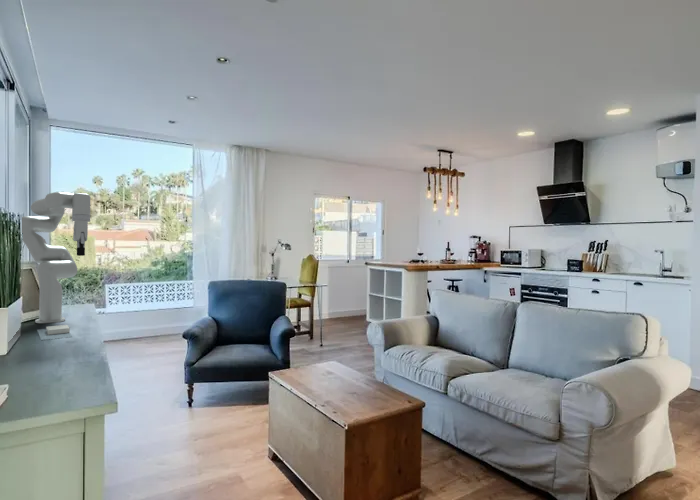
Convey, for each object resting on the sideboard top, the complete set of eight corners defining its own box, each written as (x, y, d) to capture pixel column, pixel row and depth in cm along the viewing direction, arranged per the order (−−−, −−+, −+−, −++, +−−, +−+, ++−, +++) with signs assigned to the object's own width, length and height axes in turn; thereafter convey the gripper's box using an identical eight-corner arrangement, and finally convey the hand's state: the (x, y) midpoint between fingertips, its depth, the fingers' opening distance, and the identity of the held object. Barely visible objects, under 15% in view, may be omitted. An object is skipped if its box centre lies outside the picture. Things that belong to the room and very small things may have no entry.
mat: (36, 330, 192) (36, 329, 192) (65, 327, 199) (65, 326, 199) (41, 340, 174) (41, 339, 174) (72, 337, 181) (72, 336, 181)
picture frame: (46, 326, 190) (47, 330, 183) (67, 324, 195) (69, 328, 188) (46, 331, 190) (47, 334, 183) (67, 329, 195) (69, 332, 188)
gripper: (70, 218, 206) (69, 255, 207) (74, 217, 195) (73, 256, 195) (87, 219, 211) (87, 255, 212) (92, 218, 200) (92, 256, 200)
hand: (80, 255), depth 203 cm, fingers closed
